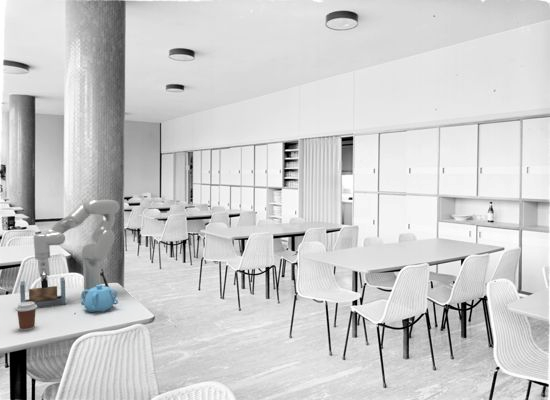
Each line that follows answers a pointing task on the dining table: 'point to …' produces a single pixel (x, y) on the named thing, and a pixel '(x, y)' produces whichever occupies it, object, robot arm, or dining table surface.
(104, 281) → the phone stand
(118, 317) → the dining table surface
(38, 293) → the brown rectangular block
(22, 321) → the coffee cup
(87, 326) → the dining table surface
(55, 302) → the door track
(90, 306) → the decorative pot
